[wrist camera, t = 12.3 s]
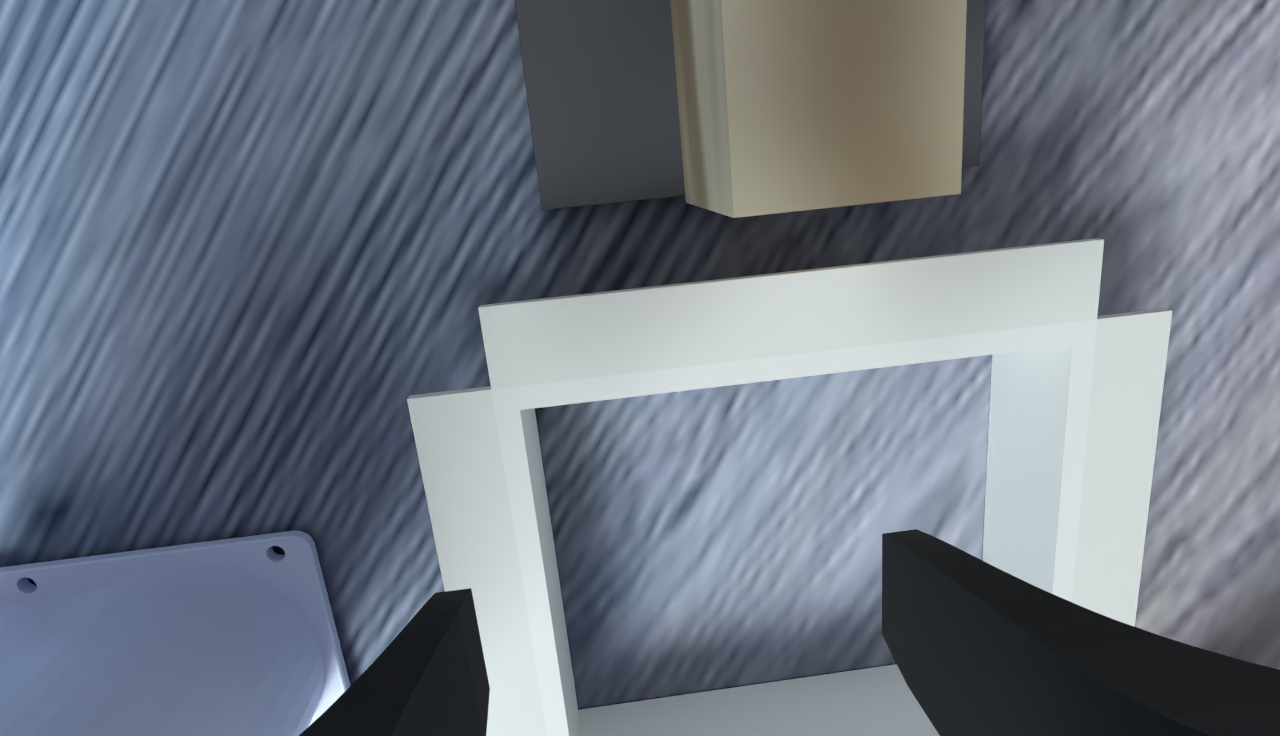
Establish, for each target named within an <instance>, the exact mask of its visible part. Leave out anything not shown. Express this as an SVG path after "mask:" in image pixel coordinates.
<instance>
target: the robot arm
mask: <svg viewBox="0 0 1280 736" xmlns="http://www.w3.org/2000/svg"><path fill="white" fill-rule="evenodd" d="M272 546H279V547H281V548H282V549H283V550H284V552H285V554H284V555H280V554H277V553H275V552H274V551H273V549H272ZM27 578H30V579H32V580H34V582H35V583H36V585H33V584H31V583H30V582H29V581H28V579H27ZM882 634H883V636H884V638H885V640H886V642H887V645H888V647H889V649H890V651H891V653H892V655H893V657H894V660H895V662H896V664H897V666H898V668H899V670H900V672H901V674H902V676H903V678H904V680H905V682H906V684H907V686H908V687H909V689H910V690H911V692H912V693H913V695H914V697H915V698H916V700H917V701H918V703H919V704H920V706H921V707H922V709H923V711H924V712H925V714H926V715H927V717H928V718H929V720H930V721H931V723H932V724H933V726H934V728H935V729H936V731H937V732H938V734H939V735H940V736H1280V670H1278V669H1274V668H1270V667H1266V666H1262V665H1258V664H1254V663H1250V662H1246V661H1242V660H1239V659H1235V658H1232V657H1228V656H1225V655H1221V654H1218V653H1214V652H1211V651H1207V650H1204V649H1200V648H1197V647H1193V646H1190V645H1187V644H1184V643H1181V642H1177V641H1174V640H1171V639H1168V638H1165V637H1162V636H1159V635H1156V634H1153V633H1151V632H1148V631H1145V630H1142V629H1139V628H1137V627H1134V626H1131V625H1128V624H1125V623H1122V622H1120V621H1117V620H1114V619H1111V618H1109V617H1106V616H1104V615H1101V614H1099V613H1096V612H1094V611H1091V610H1089V609H1086V608H1084V607H1082V606H1079V605H1077V604H1075V603H1072V602H1070V601H1068V600H1065V599H1063V598H1061V597H1058V596H1056V595H1054V594H1051V593H1049V592H1047V591H1045V590H1043V589H1040V588H1038V587H1036V586H1034V585H1032V584H1029V583H1027V582H1025V581H1023V580H1021V579H1019V578H1017V577H1015V576H1013V575H1011V574H1009V573H1006V572H1004V571H1002V570H1000V569H998V568H996V567H994V566H992V565H990V564H988V563H986V562H984V561H982V560H980V559H978V558H976V557H974V556H972V555H970V554H968V553H966V552H964V551H962V550H960V549H958V548H956V547H954V546H952V545H950V544H948V543H946V542H944V541H942V540H940V539H937V538H935V537H933V536H931V535H929V534H926V533H924V532H921V531H919V530H909V531H901V532H893V533H886V534H882ZM489 692H490V687H489V682H488V676H487V671H486V665H485V660H484V655H483V649H482V644H481V638H480V633H479V628H478V622H477V617H476V612H475V606H474V601H473V595H472V590H471V588H469V589H461V590H454V591H446V592H439V593H435V594H434V595H433V596H432V597H431V598H430V599H429V600H428V601H427V602H426V604H425V605H424V606H423V607H422V608H421V609H420V610H419V612H418V613H417V614H416V615H415V616H414V617H413V619H412V620H411V621H410V622H409V623H408V624H407V625H406V627H405V628H404V629H403V630H402V631H401V632H400V633H399V635H398V636H397V637H396V638H395V639H394V640H393V641H392V643H391V644H390V645H389V646H388V647H387V648H386V649H385V650H384V651H383V652H382V654H381V655H380V656H379V657H378V658H377V659H376V660H375V661H374V662H373V664H372V665H371V666H370V667H369V668H368V669H367V670H366V671H365V672H364V673H363V674H362V675H361V676H360V677H359V678H358V679H357V680H356V681H355V682H354V683H353V684H352V685H351V686H350V682H349V678H348V674H347V670H346V666H345V662H344V658H343V654H342V650H341V646H340V642H339V638H338V634H337V630H336V626H335V622H334V618H333V614H332V610H331V606H330V602H329V598H328V594H327V590H326V586H325V582H324V578H323V574H322V570H321V566H320V562H319V558H318V554H317V551H316V547H315V543H314V541H313V539H312V537H310V536H309V535H308V534H307V533H305V532H302V531H287V532H279V533H271V534H263V535H255V536H247V537H239V538H231V539H223V540H215V541H207V542H199V543H191V544H183V545H175V546H167V547H159V548H151V549H143V550H135V551H127V552H119V553H111V554H103V555H95V556H87V557H79V558H71V559H63V560H55V561H47V562H39V563H31V564H24V565H16V566H8V567H0V736H486V731H487V719H488V706H489Z"/></svg>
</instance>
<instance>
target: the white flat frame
mask: <svg viewBox="0 0 1280 736" xmlns="http://www.w3.org/2000/svg"><path fill="white" fill-rule="evenodd" d="M1103 248H1104V239H1098V238H1093V239H1084V240H1074V241H1065V242H1056V243H1047V244H1038V245H1028V246H1019V247H1010V248H1001V249H992V250H983V251H973V252H964V253H955V254H946V255H937V256H927V257H918V258H909V259H900V260H891V261H881V262H872V263H863V264H854V265H845V266H836V267H826V268H817V269H808V270H799V271H790V272H780V273H771V274H762V275H753V276H744V277H735V278H725V279H716V280H707V281H698V282H689V283H679V284H670V285H661V286H652V287H643V288H633V289H624V290H615V291H606V292H597V293H588V294H578V295H569V296H560V297H551V298H542V299H532V300H523V301H514V302H505V303H496V304H487V305H480V306H479V307H478V310H479V316H480V323H481V329H482V335H483V341H484V347H485V353H486V360H487V366H488V372H489V378H490V384H491V386H486V387H478V388H469V389H460V390H452V391H443V392H434V393H426V394H417V395H410V396H409V397H408V398H407V402H408V408H409V413H410V418H411V423H412V428H413V433H414V438H415V443H416V448H417V453H418V458H419V463H420V468H421V473H422V478H423V483H424V488H425V493H426V499H427V504H428V509H429V514H430V519H431V524H432V529H433V534H434V539H435V544H436V549H437V554H438V559H439V564H440V569H441V574H442V579H443V584H444V590H445V592H446V591H454V590H461V589H469V588H471V590H472V595H473V601H474V606H475V612H476V617H477V622H478V628H479V633H480V638H481V644H482V649H483V655H484V660H485V665H486V671H487V676H488V682H489V687H490V692H489V706H488V719H487V731H486V736H940V735H939V734H938V732H937V731H936V729H935V728H934V726H933V724H932V723H931V721H930V720H929V718H928V717H927V715H926V714H925V712H924V711H923V709H922V707H921V706H920V704H919V703H918V701H917V700H916V698H915V697H914V695H913V693H912V692H911V690H910V689H909V687H908V686H907V684H906V682H905V680H904V678H903V676H902V674H901V672H900V670H899V668H898V666H897V664H894V665H887V666H880V667H873V668H866V669H859V670H852V671H845V672H838V673H831V674H824V675H817V676H810V677H803V678H796V679H790V680H783V681H776V682H769V683H762V684H755V685H748V686H741V687H734V688H727V689H720V690H713V691H706V692H699V693H692V694H685V695H678V696H671V697H664V698H657V699H650V700H643V701H636V702H629V703H622V704H615V705H608V706H601V707H594V708H587V709H580V710H578V705H577V698H576V691H575V684H574V677H573V670H572V663H571V657H570V650H569V643H568V636H567V629H566V622H565V615H564V608H563V601H562V594H561V587H560V580H559V574H558V567H557V560H556V553H555V546H554V539H553V532H552V525H551V518H550V511H549V504H548V497H547V491H546V484H545V477H544V470H543V463H542V456H541V449H540V442H539V435H538V428H537V421H536V415H535V408H542V407H550V406H559V405H567V404H576V403H584V402H592V401H601V400H609V399H618V398H626V397H635V396H643V395H652V394H660V393H669V392H677V391H686V390H694V389H703V388H711V387H720V386H728V385H737V384H745V383H754V382H762V381H771V380H779V379H788V378H796V377H805V376H813V375H822V374H830V373H839V372H847V371H856V370H864V369H873V368H881V367H890V366H898V365H906V364H915V363H923V362H932V361H940V360H949V359H957V358H966V357H974V356H983V355H991V354H992V371H991V392H990V413H989V434H988V455H987V476H986V497H985V518H984V539H983V560H982V561H984V562H986V563H988V564H990V565H992V566H994V567H996V568H998V569H1000V570H1002V571H1004V572H1006V573H1009V574H1011V575H1013V576H1015V577H1017V578H1019V579H1021V580H1023V581H1025V582H1027V583H1029V584H1032V585H1034V586H1036V587H1038V588H1040V589H1043V590H1045V591H1047V592H1049V593H1051V594H1054V595H1056V596H1058V597H1061V598H1063V599H1065V600H1068V601H1070V602H1072V603H1075V604H1077V605H1079V606H1082V607H1084V608H1086V609H1089V610H1091V611H1094V612H1096V613H1099V614H1101V615H1104V616H1106V617H1109V618H1111V619H1114V620H1117V621H1120V622H1122V623H1125V624H1128V625H1131V626H1134V627H1135V618H1136V610H1137V602H1138V593H1139V585H1140V577H1141V568H1142V560H1143V552H1144V543H1145V535H1146V527H1147V518H1148V510H1149V502H1150V493H1151V485H1152V477H1153V468H1154V460H1155V452H1156V443H1157V435H1158V427H1159V418H1160V410H1161V401H1162V393H1163V385H1164V376H1165V368H1166V360H1167V351H1168V343H1169V335H1170V326H1171V318H1172V310H1168V309H1164V308H1161V309H1153V310H1144V311H1135V312H1127V313H1118V314H1109V315H1101V316H1097V315H1098V304H1099V293H1100V282H1101V270H1102V259H1103Z"/></svg>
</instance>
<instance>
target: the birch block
mask: <svg viewBox="0 0 1280 736" xmlns="http://www.w3.org/2000/svg"><path fill="white" fill-rule="evenodd" d="M670 3H671V16H672V29H673V42H674V55H675V68H676V81H677V94H678V107H679V120H680V133H681V146H682V159H683V172H684V186H685V199H686V203H688V204H691V205H694V206H698V207H701V208H704V209H707V210H710V211H713V212H717V213H720V214H723V215H726V216H729V217H732V218H738V217H748V216H757V215H767V214H776V213H785V212H795V211H804V210H813V209H823V208H832V207H842V206H851V205H860V204H870V203H879V202H889V201H898V200H907V199H917V198H926V197H936V196H945V195H954V194H961V176H962V142H963V109H964V76H965V43H966V10H967V0H670Z"/></svg>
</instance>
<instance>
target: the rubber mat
mask: <svg viewBox="0 0 1280 736" xmlns="http://www.w3.org/2000/svg"><path fill="white" fill-rule="evenodd" d="M985 1H986V0H967V10H966V43H965V76H964V109H963V142H962V167H969V166H979V154H980V129H981V103H982V78H983V52H984V26H985ZM515 7H516V14H517V22H518V30H519V37H520V45H521V53H522V60H523V68H524V76H525V83H526V91H527V99H528V106H529V114H530V122H531V129H532V137H533V145H534V152H535V160H536V168H537V175H538V183H539V191H540V198H541V206H542V210H546V209H556V208H566V207H575V206H585V205H595V204H605V203H615V202H625V201H634V200H644V199H654V198H664V197H674V196H684V195H685V186H684V172H683V159H682V146H681V133H680V120H679V107H678V94H677V81H676V68H675V55H674V42H673V29H672V16H671V3H670V0H515Z"/></svg>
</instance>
